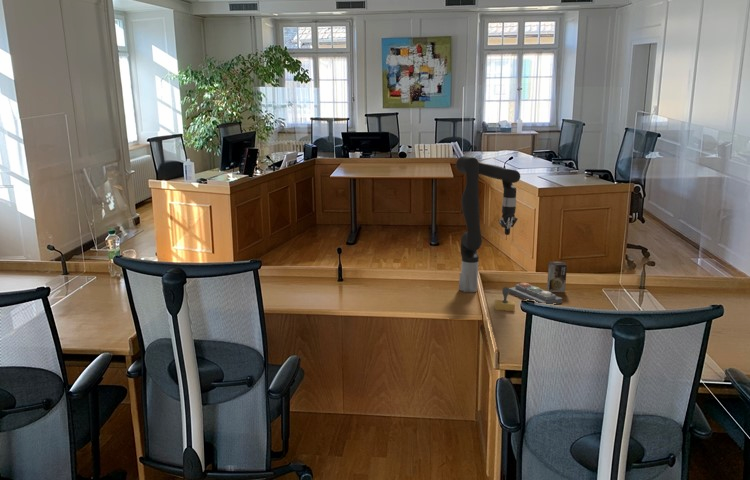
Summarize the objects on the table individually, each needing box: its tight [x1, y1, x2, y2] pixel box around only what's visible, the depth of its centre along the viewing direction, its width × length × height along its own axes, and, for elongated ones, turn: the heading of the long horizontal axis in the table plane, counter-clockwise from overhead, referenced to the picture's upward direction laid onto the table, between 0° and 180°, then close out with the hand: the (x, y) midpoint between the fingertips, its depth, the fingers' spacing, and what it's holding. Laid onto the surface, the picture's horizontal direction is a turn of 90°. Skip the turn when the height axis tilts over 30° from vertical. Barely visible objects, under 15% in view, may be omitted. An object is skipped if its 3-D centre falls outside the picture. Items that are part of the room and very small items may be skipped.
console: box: [508, 283, 563, 305], centre depth 337 cm, size 14×26×4 cm, turn 30°
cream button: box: [541, 290, 552, 297], centre depth 329 cm, size 5×5×2 cm
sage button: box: [531, 286, 541, 292], centre depth 336 cm, size 5×5×2 cm
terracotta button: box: [519, 282, 531, 288], centre depth 343 cm, size 5×5×2 cm
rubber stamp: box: [494, 286, 516, 312], centre depth 319 cm, size 10×6×12 cm, turn 77°
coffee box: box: [546, 261, 568, 293], centre depth 347 cm, size 9×6×16 cm
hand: (507, 234), depth 353 cm, fingers closed
